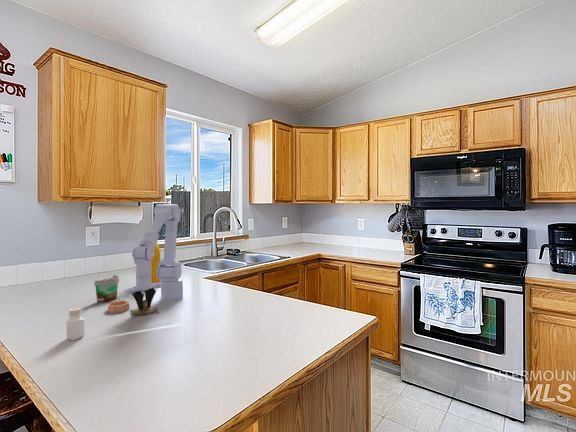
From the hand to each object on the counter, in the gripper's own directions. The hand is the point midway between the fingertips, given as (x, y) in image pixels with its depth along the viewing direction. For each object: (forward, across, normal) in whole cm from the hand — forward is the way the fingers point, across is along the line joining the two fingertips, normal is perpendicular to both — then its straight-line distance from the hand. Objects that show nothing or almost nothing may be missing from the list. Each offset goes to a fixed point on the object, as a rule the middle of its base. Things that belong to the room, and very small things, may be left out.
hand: (144, 308), depth 131 cm
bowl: (+2, +5, -11) cm, 12 cm away
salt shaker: (+2, +26, +6) cm, 27 cm away
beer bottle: (+2, -27, -44) cm, 52 cm away
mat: (+2, 0, 0) cm, 2 cm away
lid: (+1, 0, 0) cm, 1 cm away
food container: (+2, 0, -30) cm, 31 cm away
